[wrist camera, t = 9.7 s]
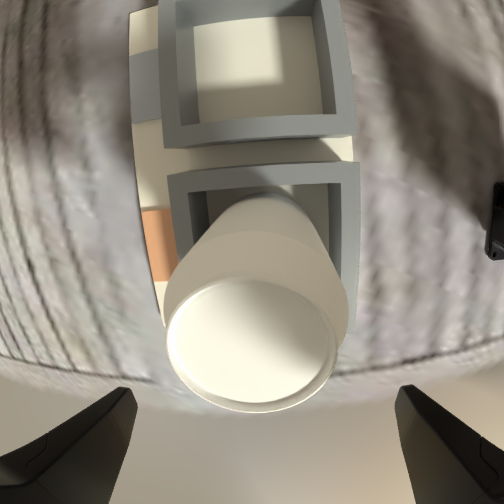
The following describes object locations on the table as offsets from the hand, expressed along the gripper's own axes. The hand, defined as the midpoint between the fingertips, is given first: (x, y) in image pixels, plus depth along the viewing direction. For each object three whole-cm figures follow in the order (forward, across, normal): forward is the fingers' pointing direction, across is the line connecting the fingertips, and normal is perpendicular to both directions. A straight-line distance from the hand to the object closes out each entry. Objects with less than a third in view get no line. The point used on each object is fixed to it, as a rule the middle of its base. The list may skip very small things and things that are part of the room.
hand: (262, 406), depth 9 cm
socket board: (+13, +2, -7) cm, 15 cm away
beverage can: (+12, 0, -2) cm, 12 cm away
